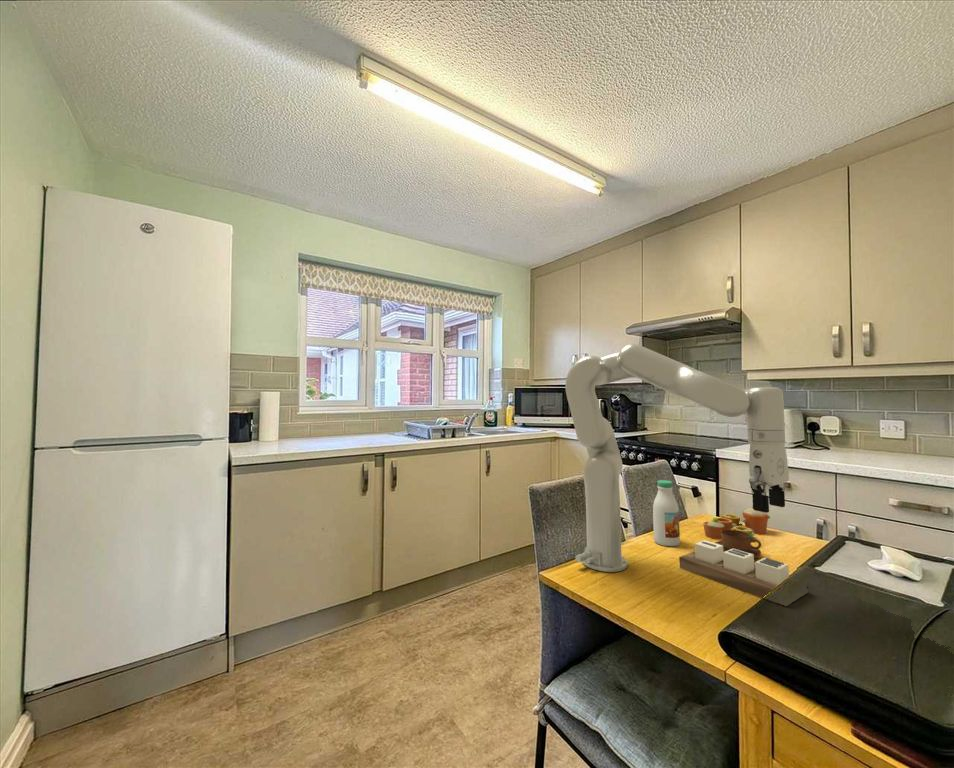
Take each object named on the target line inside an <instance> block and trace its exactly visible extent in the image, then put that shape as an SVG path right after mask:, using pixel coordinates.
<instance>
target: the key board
mask: <svg viewBox="0 0 954 768" xmlns="http://www.w3.org/2000/svg"><path fill="white" fill-rule="evenodd" d="M678 560H679V568H680V569H681V570H685V571H687V572H689V573H693V574H695V575H698V576H701V577H702V578H703V577H704V578H706V579H708V580H712V581H715V582H717V583H719V584H722V585H725V586H727V587H731V588H732V589H736V590H739V591H742V592H744V593H747V594H748V595H751V596H755V597H757V598H760V599H763V597H764V596H765V595H767V594H768V593H769V592H771V591H772V590H774V589H775V588H776V587H777V586H778V585H775V584H772V583H769V582H766V581H763V580H760V579H757V578H756V568H755V563H754V571H752V572H750V573H748V574H746V575H745V574H742V573H739V572H736V571H733V570H730V569H727V568H724V561H721V562H719V563H716V564H712V563H709V562H706V561H703V560H700V559H697V558H695V550H693V551H692V552H689V553H686V554H683V555H681V556H679V557H678ZM790 575H791V574H789V576H790Z"/></svg>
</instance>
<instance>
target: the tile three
mask: <svg viewBox="0 0 954 768" xmlns="http://www.w3.org/2000/svg"><path fill="white" fill-rule="evenodd" d="M754 564H755V568H756V578H757V579H760V580H763V581H766V582H769V583H772V584H775V585H779V584H781V583H782V582H783V581H784V580H785V579H787V578H788V577H789V575H790V572H789V571H790V570H789V569H790V568H789V564H788V563H784V562H783V561H778V560H775V559H772V558H769V557H763V558H761V559H759V560H756V561H754Z"/></svg>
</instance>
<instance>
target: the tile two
mask: <svg viewBox="0 0 954 768" xmlns="http://www.w3.org/2000/svg"><path fill="white" fill-rule="evenodd" d="M723 561H724V568H727V569H730V570H733V571H736V572H739V573H742V574H745V575H746V574H748V573H750V572H752V571H754V564H755V558H754V554H750V553H747V552H744V551H740V550H737V549H730V550H728V551H725V552H723Z"/></svg>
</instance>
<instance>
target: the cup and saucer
mask: <svg viewBox="0 0 954 768" xmlns="http://www.w3.org/2000/svg"><path fill="white" fill-rule="evenodd" d="M751 541H752V542H757V543H758V545H756V546H755V545H752V542H751ZM714 543H716V544H719V545H723V552H725V551H728V550H730V549H737V550H740V551H744V552H747V553H750V554H754V559H756V558H758V557H760V556H761V554H762V552H761V550H760V549H761V547H762V543H761V541H760V540H759V539H757V538H755V539H751V536H750V535H749V534H748V533H745V532H741V531H736V530H733V529H731V530H724V531H722V536H721V540H719V541H715V542H714Z"/></svg>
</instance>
